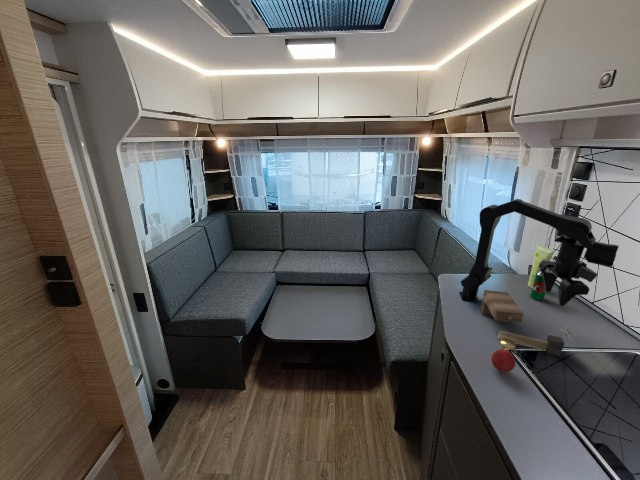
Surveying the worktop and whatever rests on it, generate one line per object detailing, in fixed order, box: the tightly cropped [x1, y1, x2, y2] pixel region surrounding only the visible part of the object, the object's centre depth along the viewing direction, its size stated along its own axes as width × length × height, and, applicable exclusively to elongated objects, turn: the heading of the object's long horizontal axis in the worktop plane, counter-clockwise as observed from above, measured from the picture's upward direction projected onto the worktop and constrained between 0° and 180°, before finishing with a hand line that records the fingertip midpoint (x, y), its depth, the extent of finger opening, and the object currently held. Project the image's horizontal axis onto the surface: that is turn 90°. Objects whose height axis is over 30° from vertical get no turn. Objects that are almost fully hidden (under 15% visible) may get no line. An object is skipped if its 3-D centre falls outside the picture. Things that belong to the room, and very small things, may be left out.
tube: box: [527, 243, 555, 289], centre depth 128 cm, size 6×5×20 cm
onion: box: [490, 348, 516, 373], centre depth 84 cm, size 6×6×8 cm
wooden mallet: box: [497, 330, 565, 357], centre depth 94 cm, size 3×17×5 cm, turn 66°
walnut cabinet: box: [479, 289, 525, 324], centre depth 105 cm, size 15×8×9 cm, turn 168°
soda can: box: [529, 270, 548, 301], centre depth 120 cm, size 5×5×12 cm
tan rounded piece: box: [499, 338, 517, 351], centre depth 95 cm, size 4×4×2 cm
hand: (554, 298), depth 100 cm, fingers open, 9 cm apart
